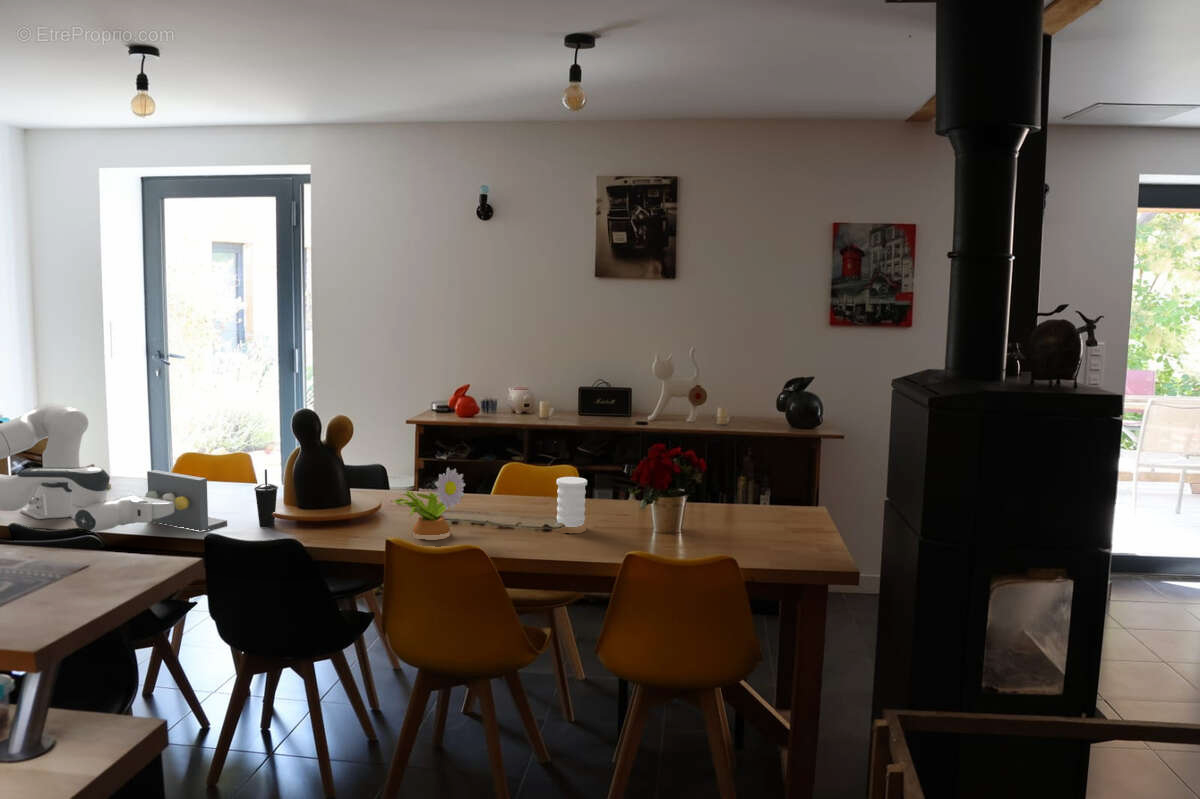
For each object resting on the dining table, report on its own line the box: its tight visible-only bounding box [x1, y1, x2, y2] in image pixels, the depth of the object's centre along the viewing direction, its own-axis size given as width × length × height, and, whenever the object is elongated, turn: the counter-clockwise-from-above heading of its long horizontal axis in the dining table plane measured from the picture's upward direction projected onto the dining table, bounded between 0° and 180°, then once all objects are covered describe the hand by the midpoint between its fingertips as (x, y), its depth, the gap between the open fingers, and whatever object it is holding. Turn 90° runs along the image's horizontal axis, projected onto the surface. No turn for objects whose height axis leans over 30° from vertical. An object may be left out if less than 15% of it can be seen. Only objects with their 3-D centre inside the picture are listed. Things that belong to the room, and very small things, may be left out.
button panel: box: [146, 469, 228, 531], centre depth 303 cm, size 25×11×18 cm, turn 65°
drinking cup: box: [253, 468, 279, 528], centre depth 303 cm, size 8×8×20 cm
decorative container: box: [556, 476, 588, 527], centre depth 311 cm, size 12×12×18 cm
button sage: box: [144, 491, 159, 499], centre depth 299 cm, size 4×2×4 cm, turn 65°
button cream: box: [162, 493, 176, 505], centre depth 297 cm, size 4×2×4 cm, turn 65°
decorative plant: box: [390, 467, 466, 535], centre depth 300 cm, size 27×24×25 cm
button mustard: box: [174, 496, 189, 510], centre depth 293 cm, size 4×2×4 cm, turn 65°
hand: (166, 500), depth 296 cm, fingers closed, pressing on button cream
